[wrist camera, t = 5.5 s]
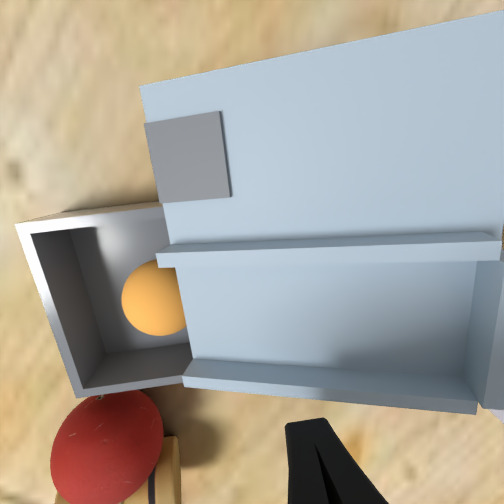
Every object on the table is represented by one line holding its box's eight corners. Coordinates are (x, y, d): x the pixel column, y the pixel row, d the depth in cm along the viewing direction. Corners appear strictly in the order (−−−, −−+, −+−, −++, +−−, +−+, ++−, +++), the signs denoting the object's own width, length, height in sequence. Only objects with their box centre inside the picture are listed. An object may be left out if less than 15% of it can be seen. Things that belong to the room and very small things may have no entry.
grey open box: (229, 192, 16) (230, 198, 13) (248, 336, 19) (252, 372, 16) (60, 212, 16) (14, 223, 12) (103, 356, 18) (76, 398, 15)
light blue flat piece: (517, 17, 8) (586, -33, 6) (468, 378, 12) (500, 426, 10) (151, 90, 11) (110, 74, 9) (201, 360, 15) (181, 393, 13)
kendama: (209, 518, 26) (186, 370, 18) (188, 632, 20) (140, 485, 12) (127, 508, 26) (73, 363, 19) (84, 615, 21) (-19, 468, 13)
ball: (153, 248, 17) (209, 249, 15) (166, 308, 18) (220, 315, 16) (94, 272, 14) (157, 278, 12) (114, 344, 15) (175, 359, 13)
